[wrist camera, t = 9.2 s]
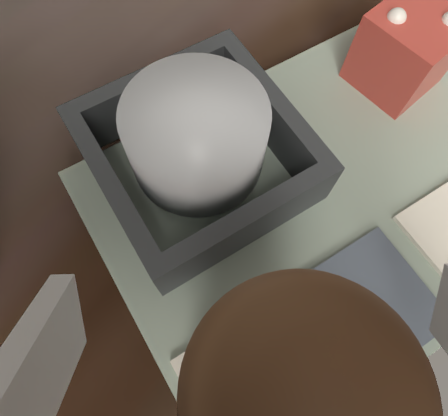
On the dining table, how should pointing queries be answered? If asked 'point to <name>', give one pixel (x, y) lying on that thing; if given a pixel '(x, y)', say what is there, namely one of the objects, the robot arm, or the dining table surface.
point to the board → (276, 200)
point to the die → (398, 53)
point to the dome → (195, 132)
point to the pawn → (305, 353)
